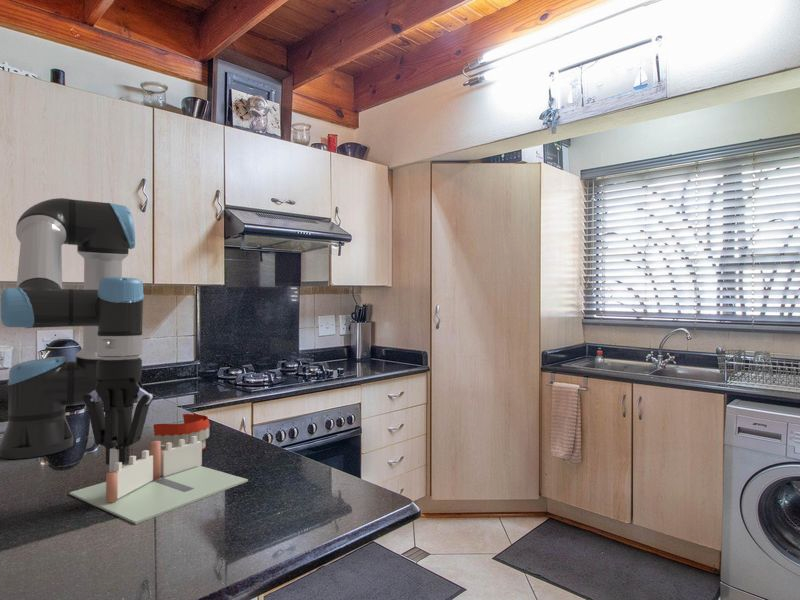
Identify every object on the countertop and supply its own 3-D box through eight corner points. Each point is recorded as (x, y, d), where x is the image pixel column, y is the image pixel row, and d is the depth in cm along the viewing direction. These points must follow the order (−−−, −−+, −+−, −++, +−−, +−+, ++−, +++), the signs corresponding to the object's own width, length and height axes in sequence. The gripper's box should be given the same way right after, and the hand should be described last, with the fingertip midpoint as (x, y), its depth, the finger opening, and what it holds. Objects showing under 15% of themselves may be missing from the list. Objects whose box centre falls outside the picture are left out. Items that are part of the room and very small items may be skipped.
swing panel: (146, 479, 97) (146, 448, 97) (154, 480, 97) (154, 448, 97) (103, 502, 86) (103, 466, 86) (112, 502, 86) (112, 467, 86)
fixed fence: (147, 481, 98) (148, 442, 98) (197, 465, 108) (197, 430, 108) (153, 483, 97) (153, 444, 97) (202, 467, 107) (202, 431, 107)
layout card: (69, 494, 91) (69, 491, 91) (180, 461, 111) (180, 459, 111) (135, 524, 78) (135, 521, 78) (247, 481, 98) (248, 479, 98)
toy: (190, 460, 112) (190, 426, 112) (151, 458, 114) (151, 425, 114) (219, 445, 124) (219, 415, 124) (184, 443, 126) (184, 413, 126)
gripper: (72, 359, 87) (69, 488, 86) (141, 359, 87) (139, 489, 86) (99, 355, 95) (96, 474, 94) (163, 356, 94) (160, 475, 94)
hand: (117, 481), depth 90 cm, fingers closed
